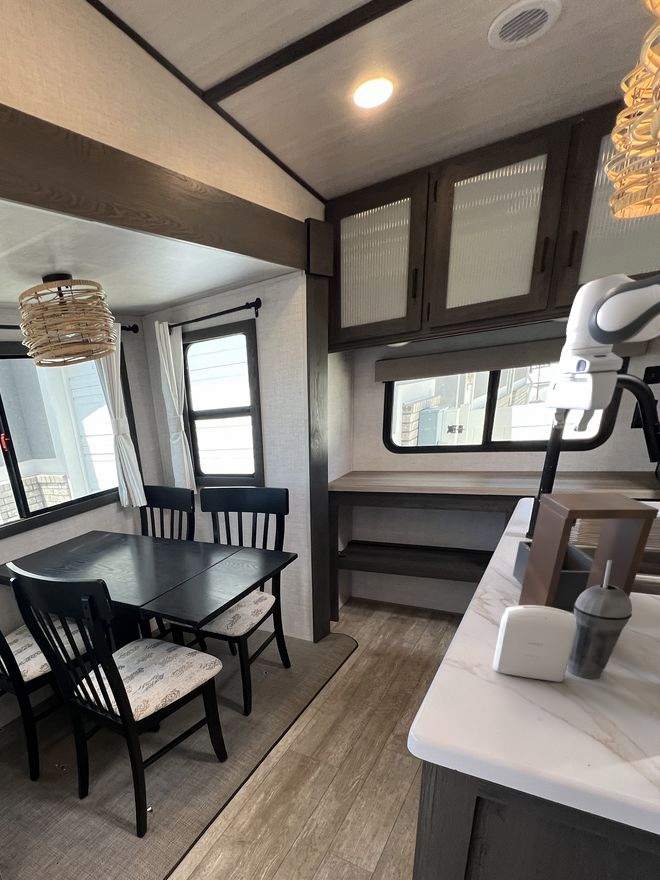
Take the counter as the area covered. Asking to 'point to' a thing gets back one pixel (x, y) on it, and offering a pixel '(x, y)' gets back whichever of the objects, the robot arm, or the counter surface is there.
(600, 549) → the shelf stand
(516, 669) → the photo printer
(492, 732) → the counter surface
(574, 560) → the trash bin
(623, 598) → the beverage cup
